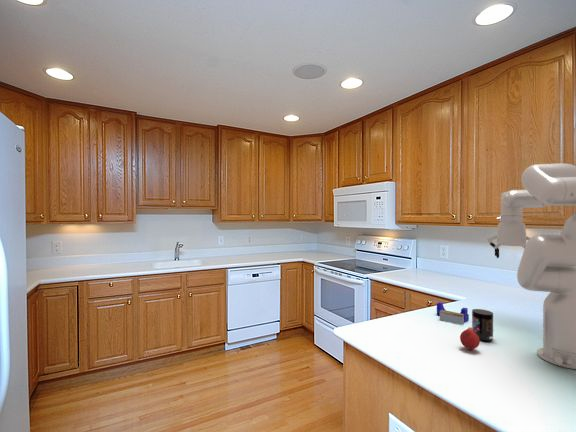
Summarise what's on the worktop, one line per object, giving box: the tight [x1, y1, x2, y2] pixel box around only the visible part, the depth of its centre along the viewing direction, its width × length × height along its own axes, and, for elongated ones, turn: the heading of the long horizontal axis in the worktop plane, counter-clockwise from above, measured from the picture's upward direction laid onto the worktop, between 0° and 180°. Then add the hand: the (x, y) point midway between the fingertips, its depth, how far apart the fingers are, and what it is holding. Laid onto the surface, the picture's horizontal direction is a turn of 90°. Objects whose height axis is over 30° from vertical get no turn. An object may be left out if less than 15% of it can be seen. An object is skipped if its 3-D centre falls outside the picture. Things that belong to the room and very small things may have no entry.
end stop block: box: [439, 309, 465, 326], centre depth 127 cm, size 3×9×4 cm, turn 49°
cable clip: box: [436, 301, 470, 324], centre depth 132 cm, size 12×4×6 cm, turn 40°
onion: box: [459, 326, 481, 351], centre depth 100 cm, size 6×6×8 cm
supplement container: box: [471, 308, 494, 343], centre depth 109 cm, size 7×7×10 cm
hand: (511, 258), depth 126 cm, fingers open, 9 cm apart
